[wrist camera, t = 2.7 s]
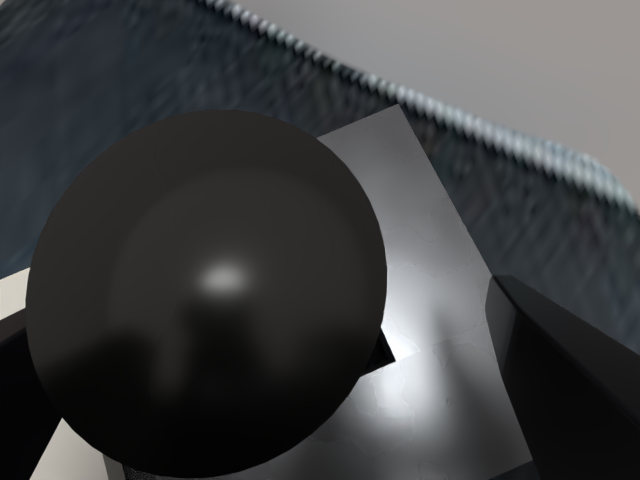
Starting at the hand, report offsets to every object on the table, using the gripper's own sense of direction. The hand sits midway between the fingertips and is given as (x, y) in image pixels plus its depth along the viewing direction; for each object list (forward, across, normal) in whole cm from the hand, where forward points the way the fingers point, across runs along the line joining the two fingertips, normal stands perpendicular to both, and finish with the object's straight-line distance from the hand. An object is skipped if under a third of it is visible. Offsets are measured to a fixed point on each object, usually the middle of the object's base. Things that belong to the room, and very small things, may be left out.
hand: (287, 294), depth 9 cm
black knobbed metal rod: (+5, 0, +6) cm, 8 cm away
